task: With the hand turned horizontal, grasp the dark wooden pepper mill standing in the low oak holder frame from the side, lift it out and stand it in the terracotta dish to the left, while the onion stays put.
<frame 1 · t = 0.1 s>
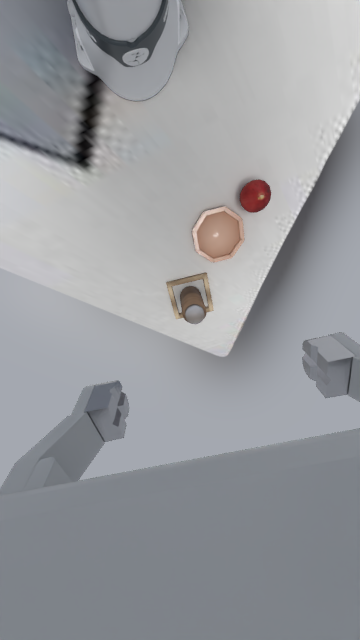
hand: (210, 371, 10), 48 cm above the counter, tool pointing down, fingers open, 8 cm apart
onion: (249, 196, 51), on the counter
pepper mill: (190, 296, 60), resting in holder frame
dish: (217, 234, 54), on the counter
holder frame: (190, 296, 60), on the counter
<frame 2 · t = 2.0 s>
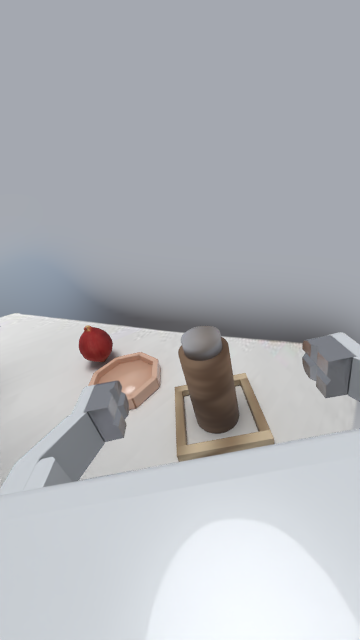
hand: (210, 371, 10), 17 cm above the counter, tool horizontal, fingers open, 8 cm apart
onion: (103, 361, 45), on the counter
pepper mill: (217, 414, 29), resting in holder frame
dish: (126, 383, 38), on the counter
holder frame: (217, 414, 29), on the counter
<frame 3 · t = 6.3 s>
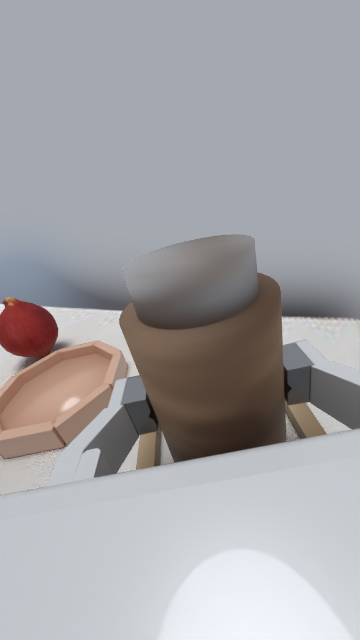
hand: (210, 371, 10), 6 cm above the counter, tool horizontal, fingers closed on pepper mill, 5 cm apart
onion: (45, 357, 29), on the counter
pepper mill: (233, 471, 12), resting in holder frame, touching gripper
dish: (65, 394, 21), on the counter
holder frame: (233, 471, 12), on the counter
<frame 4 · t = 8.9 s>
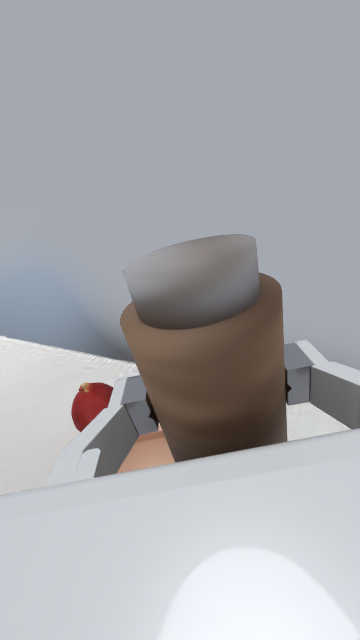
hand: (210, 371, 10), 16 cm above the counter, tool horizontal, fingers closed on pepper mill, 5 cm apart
onion: (110, 430, 30), on the counter
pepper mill: (233, 471, 12), point 10 cm above the counter, touching gripper
dish: (150, 488, 23), on the counter
when the fingers open (8 cm above the counter, at t = 11.7 s): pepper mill drops 1 cm, resting on dish.
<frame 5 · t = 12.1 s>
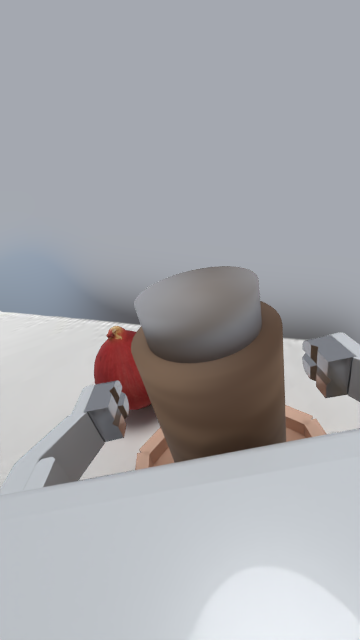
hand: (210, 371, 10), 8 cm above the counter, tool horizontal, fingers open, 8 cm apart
onion: (146, 404, 21), on the counter
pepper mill: (235, 483, 13), point 1 cm above the counter, touching dish
dish: (237, 491, 13), on the counter
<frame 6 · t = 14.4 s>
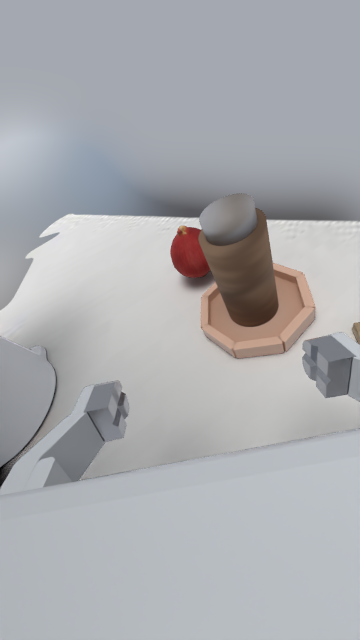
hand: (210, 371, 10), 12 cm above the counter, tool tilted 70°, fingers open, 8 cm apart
onion: (203, 275, 33), on the counter
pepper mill: (252, 306, 25), point 1 cm above the counter, touching dish
dish: (253, 311, 26), on the counter
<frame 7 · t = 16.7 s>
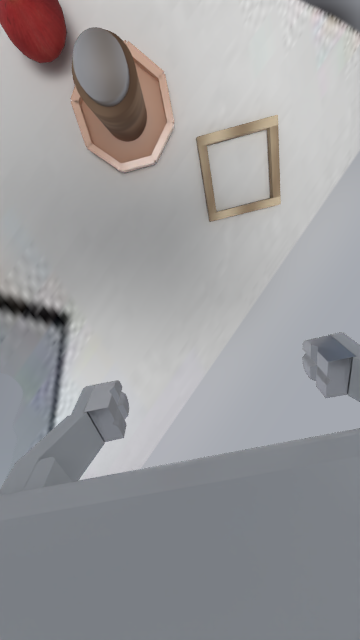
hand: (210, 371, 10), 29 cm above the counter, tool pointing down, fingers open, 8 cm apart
onion: (50, 41, 26), on the counter
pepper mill: (125, 114, 28), point 1 cm above the counter, touching dish
dish: (126, 116, 29), on the counter
holder frame: (239, 173, 32), on the counter
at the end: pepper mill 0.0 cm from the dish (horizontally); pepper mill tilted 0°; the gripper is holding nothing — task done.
